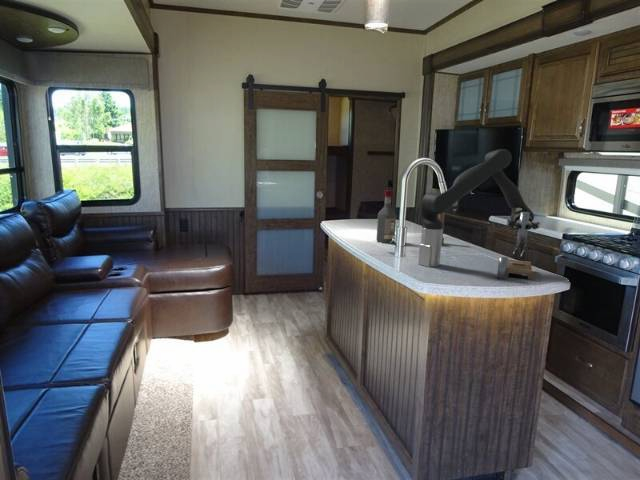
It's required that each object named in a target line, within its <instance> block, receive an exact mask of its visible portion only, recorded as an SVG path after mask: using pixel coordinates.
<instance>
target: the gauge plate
mask: <svg viewBox="0 0 640 480" xmlns="http://www.w3.org/2000/svg"><path fill="white" fill-rule="evenodd" d="M509 274H514V275H515V274H517V275H524V276H527V277H526V278H527V281H532V275H533V269H532V262H531V261H525V260H517V259H515V260H514V259H508V265H507V274H506V278H509V276H510V275H509Z"/></svg>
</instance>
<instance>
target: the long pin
mask: <svg viewBox="0 0 640 480" xmlns="http://www.w3.org/2000/svg"><path fill="white" fill-rule="evenodd" d="M529 214H530V213H529V212H520V220H519V229H518V230H517V240H516V247H518V248H526V247H527V238H528V231H529V230H528V222H529Z"/></svg>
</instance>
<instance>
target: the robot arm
mask: <svg viewBox="0 0 640 480" xmlns="http://www.w3.org/2000/svg"><path fill="white" fill-rule="evenodd" d="M512 159H513V156H512V154H511V152H510V151H509V150H508V149H505V148H499V149H496V150H493V151H489V152H488V153H486V154H485V156H484V160H483V162H481V163H479V164H477V165H474V166H472V167H470V168H468V169H466V170H465V171H463V172H461V173H460V174H459V175H458V176H457V177H455V180H454V181H453V183H452V186H451V187H450V188H449V189H447V190H445V191H443V192H441V193H437V192H436V193H435V192H427V193H426V194H424V196H423V197H422V200H421V204H420V205H421V206H420V209H421V211H420V221H421V227H422V228H421V238H420V244H419V248H418V261H417V263H418V265H421V266H425V267H429V268H430V267H439V266H440V265H441V255H442V254H441V251H442V244H441V243H442V232H443V233H444V228H443V223H442V222H441V221H440V220H439V218H438V214H442V213H445V212H447V211H448V210H449V209H450V208H451V207H452V206H454V205H455V203H457V202H458V201H459V200H460V199H462V198H463V197H465V196H467V194H468V193H471V192H472V191H473V190H475V189H476V188H478V187H479V186H480V185H481V184H483V183H484V182H486V181H487V180H488V179H489V178H490V177H492V178H493V179H494V181H495V183H496V184H497V186H498V187H499V188H500V190H501V192H502V194H503V196H504V199H505V201H506V203H507V206H508V208H510V209H512V210H513V209H514V210H515V209H521V210H518V211H514V212H513V213H511V214H510V219H507V220H506V226H507V227H510V228H515V229H516V230H517V231H518V229H519V220H520V212H529V213H530V214H529V222H528V231H530V230H537V229H540V225H541V223H540V221H537V222H533V221H534V220H535V214H534V212H533V211H532V210H531V208H529V207H528V205H527V204H526V203H525V201H524V199H523V197H522V195H521V193H520V190H519V189H518V187H517V186H516V184H514V183H513V182H512V181H511V179H509V178H508V177H507V175H506V174H505V171H504V170H503V169H505V168H507V167H508V166H509V165H510V164H511V162H512Z"/></svg>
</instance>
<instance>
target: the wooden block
mask: <svg viewBox="0 0 640 480" xmlns="http://www.w3.org/2000/svg"><path fill="white" fill-rule="evenodd" d="M445 215H446V214H445V212H444V213H442V214H437V216H438V218H439V220H440V221H441V222H442V223H443V229H444V226H445ZM444 240H445V238H444V231H443V232H442V243H441V245H443V244H444Z"/></svg>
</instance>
